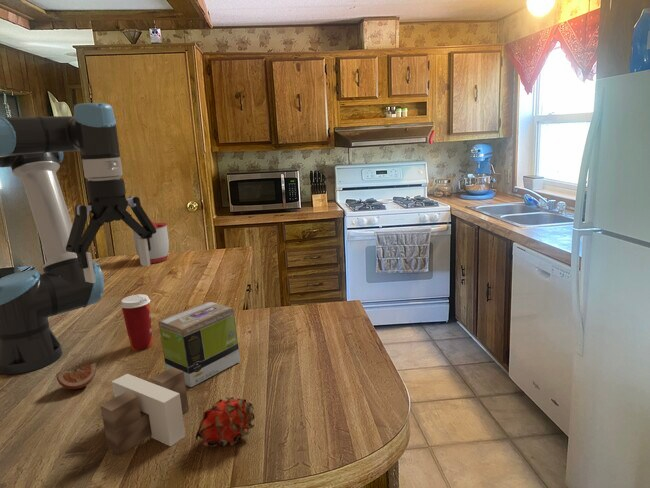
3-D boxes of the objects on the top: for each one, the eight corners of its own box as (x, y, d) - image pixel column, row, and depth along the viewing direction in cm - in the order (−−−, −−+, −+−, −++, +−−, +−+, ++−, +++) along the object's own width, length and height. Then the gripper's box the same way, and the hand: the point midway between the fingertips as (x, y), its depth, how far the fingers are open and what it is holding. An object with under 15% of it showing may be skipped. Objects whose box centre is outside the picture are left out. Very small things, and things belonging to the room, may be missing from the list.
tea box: (216, 352, 124) (209, 299, 120) (241, 362, 117) (235, 307, 114) (165, 376, 112) (157, 319, 109) (190, 389, 106) (182, 328, 103)
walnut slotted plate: (119, 455, 85) (111, 410, 83) (108, 449, 87) (100, 405, 85) (188, 410, 98) (183, 371, 96) (177, 405, 100) (172, 367, 98)
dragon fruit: (262, 433, 91) (205, 469, 85) (240, 397, 95) (184, 429, 89) (268, 416, 85) (207, 453, 79) (244, 378, 89) (184, 411, 83)
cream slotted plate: (185, 436, 89) (179, 393, 87) (170, 446, 86) (164, 402, 84) (133, 412, 98) (127, 373, 96) (118, 421, 95) (111, 381, 93)
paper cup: (162, 343, 131) (155, 295, 128) (139, 354, 125) (131, 305, 122) (144, 338, 135) (136, 292, 132) (120, 349, 129) (112, 301, 125)
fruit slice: (96, 375, 115) (93, 357, 114) (102, 386, 109) (98, 367, 108) (58, 387, 110) (54, 368, 109) (62, 399, 105) (57, 379, 104)
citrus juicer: (163, 254, 235) (157, 214, 231) (176, 260, 222) (171, 218, 217) (131, 260, 226) (124, 219, 221) (143, 267, 213) (137, 223, 208)
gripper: (54, 186, 89) (73, 292, 94) (164, 172, 108) (175, 261, 113) (34, 185, 93) (54, 287, 98) (144, 172, 113) (156, 257, 118)
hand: (119, 273), depth 106 cm, fingers open, 13 cm apart
